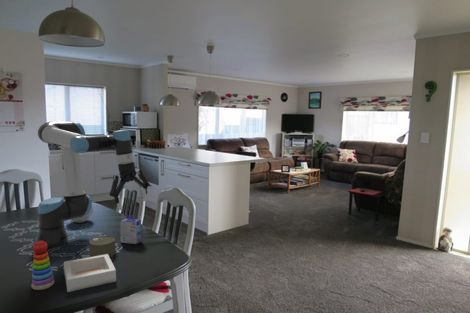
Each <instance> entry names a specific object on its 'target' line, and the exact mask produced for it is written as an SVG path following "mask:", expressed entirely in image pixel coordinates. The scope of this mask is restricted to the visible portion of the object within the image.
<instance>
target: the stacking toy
mask: <svg viewBox="0 0 470 313" xmlns="http://www.w3.org/2000/svg"><path fill="white" fill-rule="evenodd" d="M47 247H48V245H47V243H46V242H45V241H37V242H36V241H35V242H34V244H33V245H32V251H33V252H34V254H33V261H32V262H33V264H32V274H31V278H32V280H31V285H30V286H31V289H33V290H35V291H42V290H46V289H49V288H51V287H52V286H53V285H54V284H55V279H54V274H53V270H52V266H51V262H50V256H49V252H48V251H47V249H48V248H47Z"/></svg>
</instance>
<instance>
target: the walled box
mask: <svg viewBox="0 0 470 313" xmlns="http://www.w3.org/2000/svg"><path fill="white" fill-rule="evenodd" d="M110 257H111V256H110ZM110 257H109V255H108V254H105V255H99V256H94V257H91V256H90V257H84V258H80V259H73V260H67V261H63V275H64V279H65V281H64V282H65V287H66V292H67V293H70V292H75V291H79V290H85V289H87V288H92V287H96V286H101V285H105V284H106V285H107V284H110V283H115V282H117V270H116V267H115V266H114V264H113V262H112V259H111V258H110Z"/></svg>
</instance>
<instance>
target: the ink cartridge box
mask: <svg viewBox="0 0 470 313" xmlns="http://www.w3.org/2000/svg"><path fill="white" fill-rule="evenodd" d="M141 242H142V220H141V219H137V218H136V215H134V214H133V215H131V214H129V215H128V218H124V219H121V220H120V244H121V243H124V244H133V245H137V244H139V243H141Z"/></svg>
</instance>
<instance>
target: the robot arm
mask: <svg viewBox="0 0 470 313" xmlns="http://www.w3.org/2000/svg"><path fill="white" fill-rule="evenodd" d="M37 137H38V139H39V140H40V141H42V142H43V143H45V144H49V145H50V144H51V145H53V144H55V145H58V148H60V149H61V152H62V162H63V163H62V164H63V170H64V171H63V172H64V174H63V175H64V181H65V184H64V185H65V193H64V194H63V197H60V196H59V197H57V196H56V197H50V198H47V199H43V200H42V201H40V202H39V204H38V207H37V208H38V209H37V215H38V233H37V235H36V240H35V243H36V242H37V241H45V242H46V243H47V245H48V247H47V249H48V248H55V247H60V246H62V245H65V244H67V243H68V242H69V235H68V232H67V231H66V228H65V221H70V220H71V219H74V218H78V217H83V216H86V215H88V214H89V213H90V211H91V209H92V207H93V201H92V198H91V196H90V195H88V194H87V192H86V191H85V190H84V187H83V186H84V184H83V173H82V165H81V156H80V155H81V154H85V153H96V152H98V153H99V152H109V151H110V152H111V151H115V155H116V162H117V168H118V172H119V174H117V175H115V174H114V175H113V176H112V177H113V181H112V185H111V188H110V191H109V196H110V197H113V198H114V203H115V204H116V205H117V209H118V210H120V211H123V205H122V200H121V195H120V194H121V192H122V190H123V187H124V185H125V184H127V183H129V182H133V181H134V182H135V183H136V184H138V185H139V186H140V187H141V188H140V191H141V196H142V197H141V198H142V201H143V202H145V203H146V202H148V197H147V195H148V190H147V189H148V187H150V183H149V181H148V180H147V178H146V177H145V175H144V174H143V171H142V169H136V165H135V164H136V163H135V162H134V161H135V159H134V154H133V146H132V138H131V134H130V131H129V129H122V130H121V129H120V130H115V131H113V132H112V134H108V135H106V134H105V135H86V131H85V129H84V126H83V125H82V124H81V123H80V122H78V121H71V120H70V121H48V122H44V123H42V124H41V125H40V126H39V128H38V130H37ZM137 176H138V177H139V178H138V177H137Z"/></svg>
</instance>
